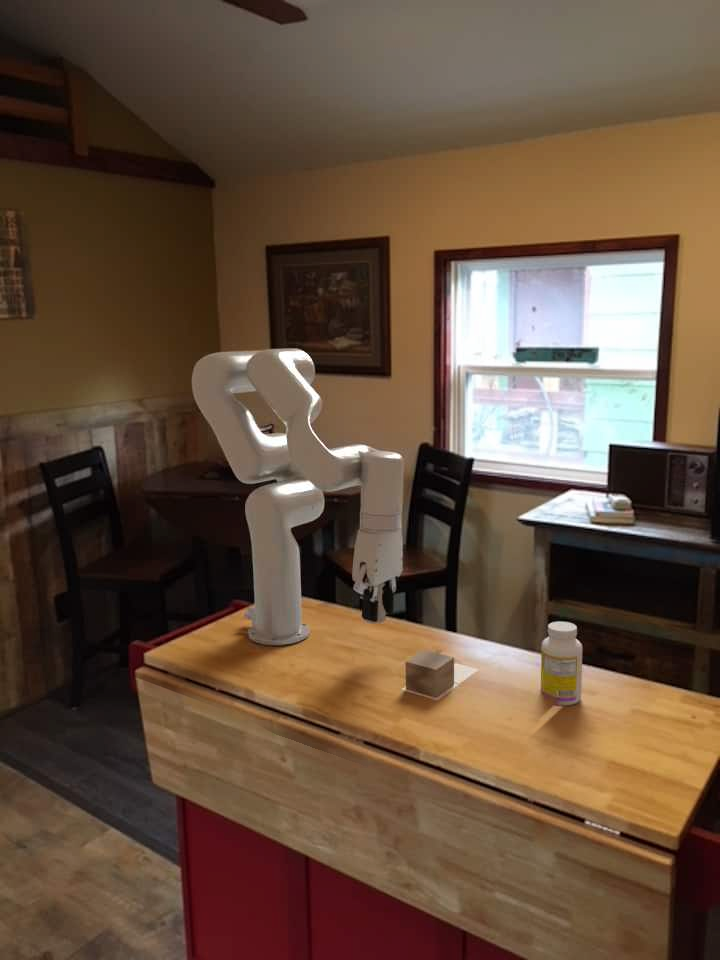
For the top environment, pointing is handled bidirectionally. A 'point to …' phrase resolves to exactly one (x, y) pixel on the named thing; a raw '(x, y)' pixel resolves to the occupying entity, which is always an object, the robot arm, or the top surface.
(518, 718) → the top surface
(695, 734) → the top surface
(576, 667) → the supplement bottle
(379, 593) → the rook chess piece
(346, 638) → the top surface
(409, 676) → the walnut block
